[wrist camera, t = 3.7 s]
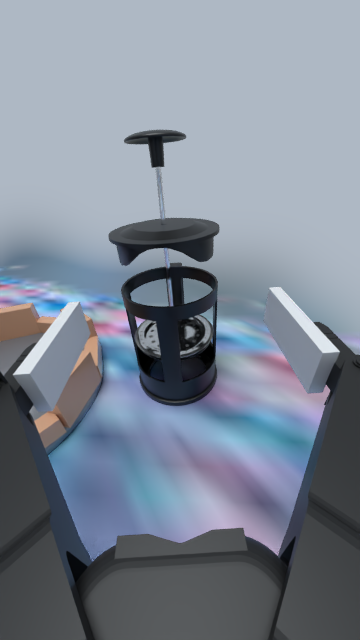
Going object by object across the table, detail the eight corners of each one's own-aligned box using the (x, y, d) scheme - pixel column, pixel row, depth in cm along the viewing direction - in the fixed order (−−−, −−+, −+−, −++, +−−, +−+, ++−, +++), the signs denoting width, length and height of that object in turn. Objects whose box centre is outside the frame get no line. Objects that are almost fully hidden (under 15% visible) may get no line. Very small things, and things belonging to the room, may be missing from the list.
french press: (221, 411, 23) (240, 106, 10) (131, 411, 24) (43, 125, 11) (212, 339, 33) (216, 136, 20) (148, 340, 34) (113, 145, 21)
